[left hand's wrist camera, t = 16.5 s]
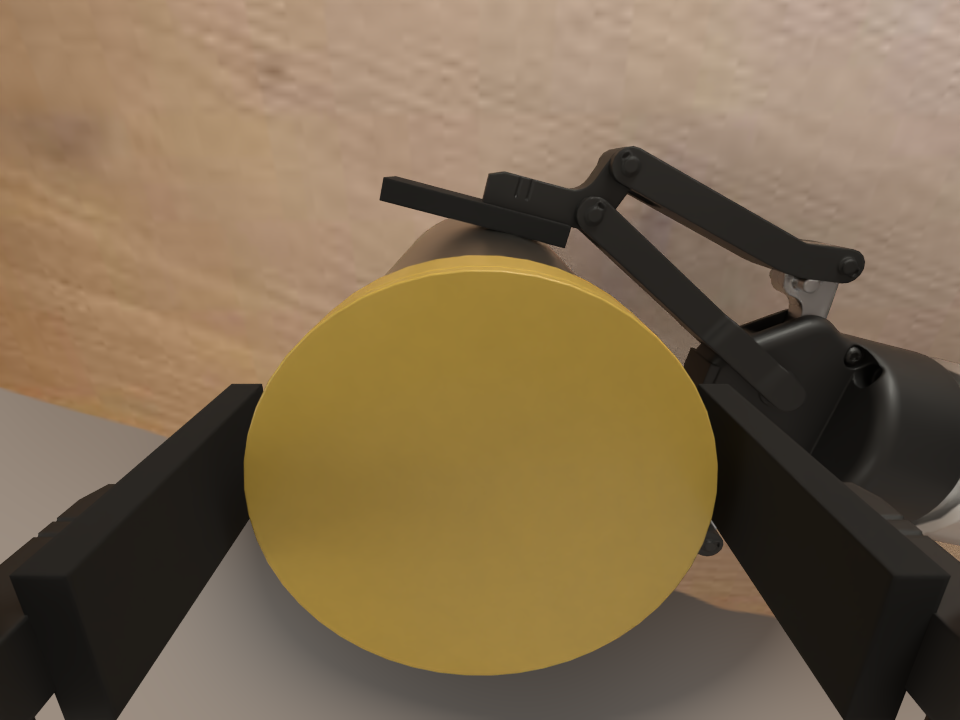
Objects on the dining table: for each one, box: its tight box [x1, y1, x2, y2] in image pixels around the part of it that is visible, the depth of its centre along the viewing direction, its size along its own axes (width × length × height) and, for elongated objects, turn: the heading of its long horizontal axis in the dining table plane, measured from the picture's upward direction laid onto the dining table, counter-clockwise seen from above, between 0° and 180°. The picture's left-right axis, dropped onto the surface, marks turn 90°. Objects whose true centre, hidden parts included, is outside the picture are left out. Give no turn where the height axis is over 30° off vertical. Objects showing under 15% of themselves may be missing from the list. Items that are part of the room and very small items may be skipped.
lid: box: [244, 255, 718, 675], centre depth 11 cm, size 10×10×2 cm
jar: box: [385, 218, 576, 276], centre depth 19 cm, size 9×9×17 cm
